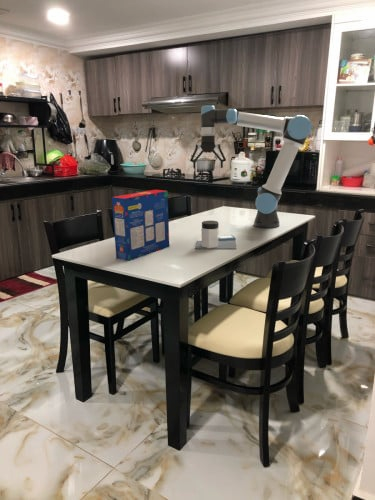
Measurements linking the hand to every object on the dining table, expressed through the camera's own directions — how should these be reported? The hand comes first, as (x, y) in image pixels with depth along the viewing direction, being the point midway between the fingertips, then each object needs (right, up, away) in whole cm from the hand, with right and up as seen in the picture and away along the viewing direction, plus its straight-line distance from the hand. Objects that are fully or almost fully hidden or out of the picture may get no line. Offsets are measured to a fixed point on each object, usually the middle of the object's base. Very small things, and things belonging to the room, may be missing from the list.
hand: (208, 174), depth 221 cm
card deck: (+8, -38, -16) cm, 42 cm away
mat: (+2, -41, -27) cm, 49 cm away
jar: (-1, -41, -29) cm, 51 cm away
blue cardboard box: (-32, -45, -36) cm, 66 cm away
